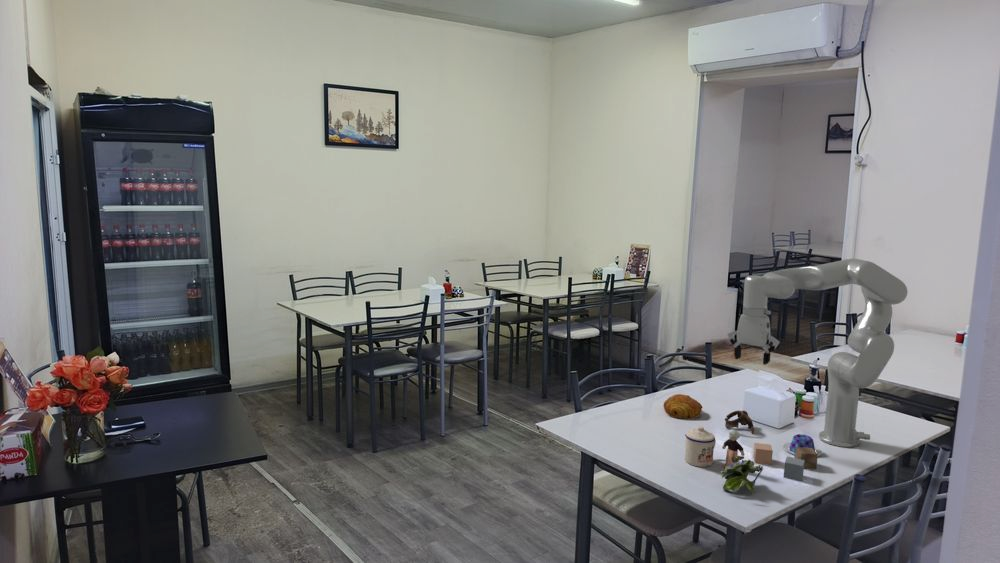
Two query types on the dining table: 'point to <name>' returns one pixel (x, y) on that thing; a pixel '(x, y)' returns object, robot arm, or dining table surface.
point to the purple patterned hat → (801, 444)
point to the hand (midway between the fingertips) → (751, 361)
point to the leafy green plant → (740, 474)
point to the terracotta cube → (762, 453)
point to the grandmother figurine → (732, 447)
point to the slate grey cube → (794, 468)
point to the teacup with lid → (699, 447)
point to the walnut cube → (807, 457)
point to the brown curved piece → (739, 420)
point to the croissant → (682, 407)
